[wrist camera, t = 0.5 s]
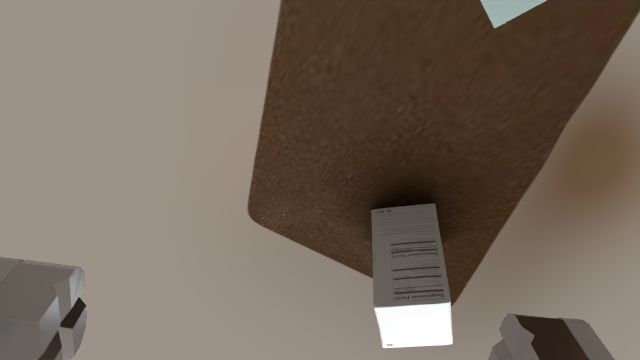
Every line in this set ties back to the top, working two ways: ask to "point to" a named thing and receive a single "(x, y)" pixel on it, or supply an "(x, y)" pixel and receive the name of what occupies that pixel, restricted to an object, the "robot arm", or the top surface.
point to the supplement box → (410, 277)
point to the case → (507, 9)
